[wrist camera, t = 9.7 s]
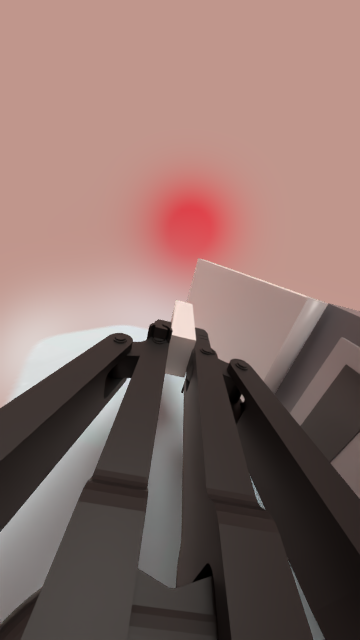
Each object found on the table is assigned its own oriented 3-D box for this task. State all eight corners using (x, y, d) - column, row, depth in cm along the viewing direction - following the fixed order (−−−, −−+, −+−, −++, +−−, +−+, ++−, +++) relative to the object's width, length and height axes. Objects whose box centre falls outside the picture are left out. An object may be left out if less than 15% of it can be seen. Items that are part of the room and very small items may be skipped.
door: (248, 433, 15) (323, 304, 11) (172, 347, 24) (196, 258, 20) (259, 426, 16) (333, 304, 12) (182, 345, 25) (207, 260, 21)
